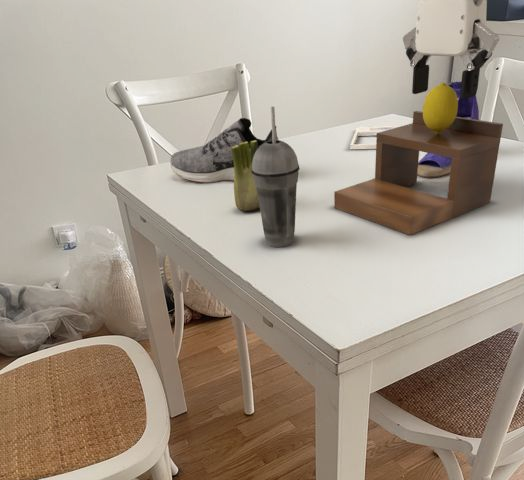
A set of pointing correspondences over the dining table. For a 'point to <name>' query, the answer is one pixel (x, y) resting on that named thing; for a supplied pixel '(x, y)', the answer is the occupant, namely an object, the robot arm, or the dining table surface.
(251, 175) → the fennel bulb
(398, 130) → the stand
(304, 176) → the dining table surface
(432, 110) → the lemon
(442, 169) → the sandal
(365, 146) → the photo frame
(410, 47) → the robot arm
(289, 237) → the beverage cup
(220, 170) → the athletic shoe
